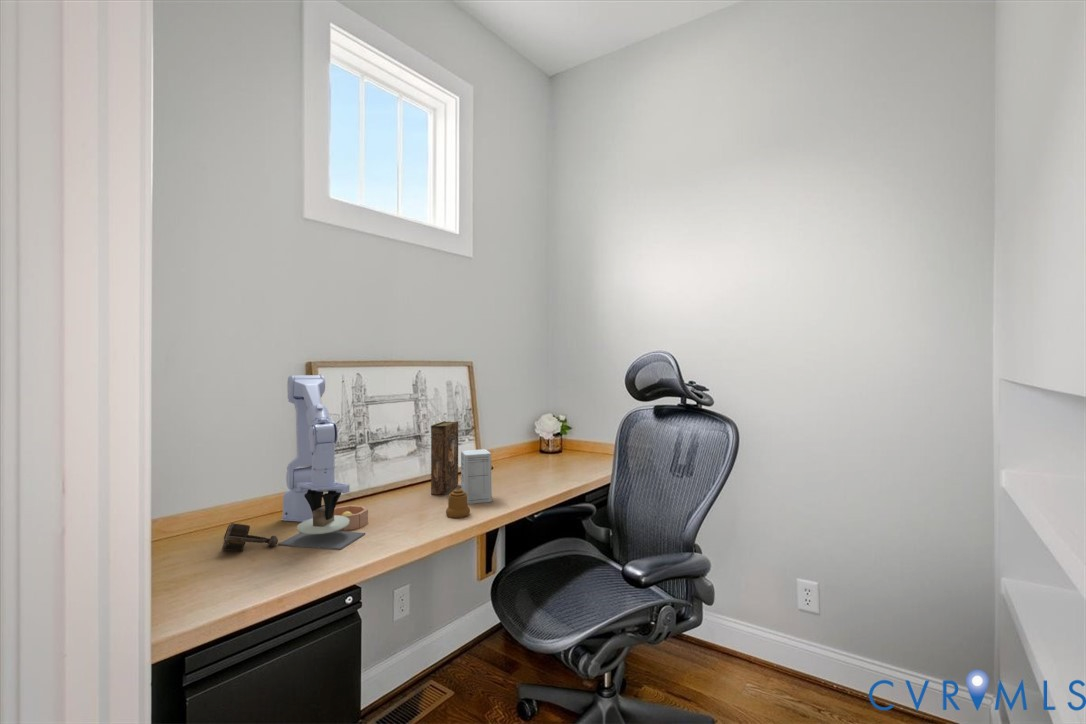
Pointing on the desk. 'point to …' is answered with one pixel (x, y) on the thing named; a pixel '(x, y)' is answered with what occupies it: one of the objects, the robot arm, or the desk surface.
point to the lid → (322, 523)
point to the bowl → (353, 516)
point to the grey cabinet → (476, 475)
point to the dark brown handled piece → (243, 538)
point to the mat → (323, 540)
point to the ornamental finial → (457, 504)
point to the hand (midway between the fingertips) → (323, 518)
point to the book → (444, 457)
